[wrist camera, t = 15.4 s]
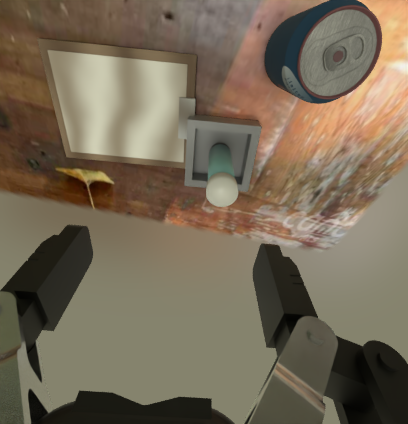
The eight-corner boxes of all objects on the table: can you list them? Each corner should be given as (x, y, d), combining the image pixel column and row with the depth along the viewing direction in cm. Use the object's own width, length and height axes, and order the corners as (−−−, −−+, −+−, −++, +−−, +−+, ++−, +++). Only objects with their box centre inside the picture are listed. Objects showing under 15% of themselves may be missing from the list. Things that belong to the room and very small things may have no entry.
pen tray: (186, 176, 36) (184, 185, 34) (189, 113, 31) (187, 119, 29) (245, 181, 36) (247, 191, 34) (257, 120, 31) (261, 126, 29)
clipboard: (68, 155, 35) (64, 158, 34) (40, 38, 27) (33, 37, 26) (191, 167, 35) (191, 170, 34) (198, 55, 28) (198, 55, 27)
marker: (209, 140, 32) (207, 177, 23) (232, 142, 32) (240, 180, 23) (207, 162, 34) (204, 205, 25) (229, 164, 34) (235, 208, 25)
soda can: (270, 98, 30) (299, 121, 20) (255, 34, 26) (280, 24, 16) (328, 73, 28) (391, 85, 18) (320, 1, 25) (393, -32, 15)
